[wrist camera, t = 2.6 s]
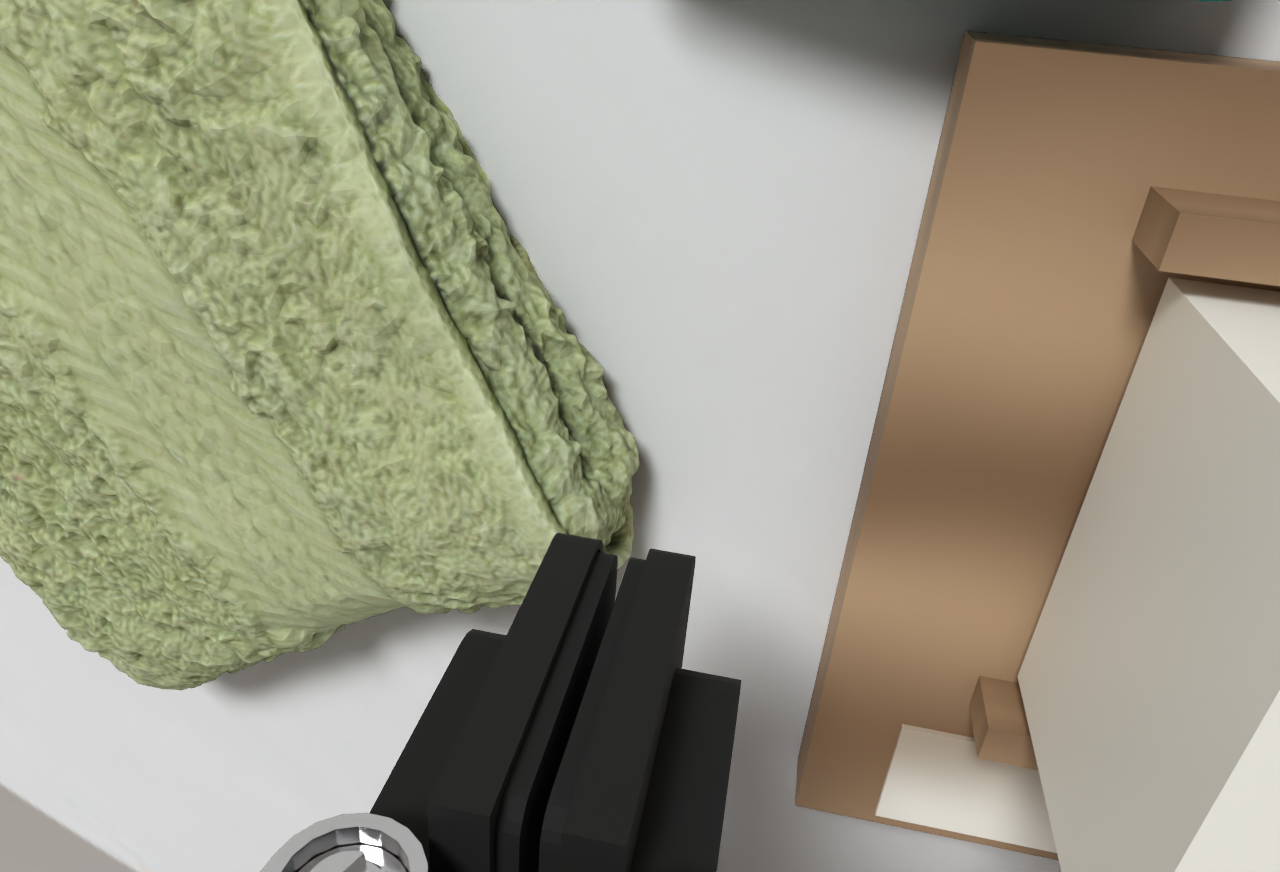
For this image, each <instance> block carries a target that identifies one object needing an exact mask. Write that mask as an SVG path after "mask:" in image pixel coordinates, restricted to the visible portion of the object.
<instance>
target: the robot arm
mask: <svg viewBox="0 0 1280 872" xmlns="http://www.w3.org/2000/svg"><path fill="white" fill-rule="evenodd" d="M617 567H618V557H617V555H613V554H608V553H603V542H602V540H598V539H592V538H587V537H581V536H575V535H569V534H564V533H556V534H555V536H554V537H553V539H552V541H551V543H550V545H549V548H548V550H547V552H546V554H545V556H544V558H543V560H542V562H541V564H540V566H539V569H538V571H537V573H536V575H535V577H534V579H533V581H532V583H531V585H530V587H529V590H528V592H527V594H526V596H525V598H524V600H523V602H522V604H521V606H520V608H519V611H518V613H517V615H516V617H515V619H514V621H513V623H512V625H511V627H510V629H509V632H508V634H507V636H506V635H501V634H495V633H490V632H485V631H480V630H474V629H472V630H471V631H469V632H468V633H467V634H466V636H465V637H464V639H463V640H462V642H461V644H460V645H459V647H458V649H457V651H456V653H455V655H454V657H453V658H452V660H451V662H450V664H449V666H448V668H447V670H446V672H445V673H444V675H443V677H442V679H441V681H440V683H439V685H438V686H437V688H436V690H435V692H434V694H433V696H432V698H431V700H430V701H429V703H428V705H427V707H426V709H425V711H424V713H423V714H422V716H421V718H420V720H419V722H418V724H417V726H416V728H415V729H414V731H413V733H412V735H411V737H410V739H409V741H408V742H407V744H406V746H405V748H404V750H403V752H402V754H401V755H400V757H399V759H398V761H397V763H396V765H395V767H394V769H393V770H392V772H391V774H390V776H389V778H388V780H387V782H386V783H385V785H384V787H383V789H382V791H381V793H380V795H379V797H378V798H377V800H376V802H375V804H374V806H373V808H372V810H371V811H370V813H355V814H341V815H338V816H335V817H332V818H328V819H325V820H322V821H319V822H316V823H314V824H313V825H311V826H309V827H308V828H306V829H304V830H303V831H301V832H299V833H297V834H296V835H294V836H293V837H292V838H291V839H290V840H289V841H288V842H287V843H285V844H284V845H283V846H282V847H281V848H280V849H279V850H278V851H277V852H276V853H275V854H274V855H273V856H272V858H271V859H270V860H269V861H268V863H267V864H266V865H265V866H264V868H263V869H262V870H261V871H260V872H716V871H717V864H718V856H719V848H720V841H721V833H722V826H723V818H724V810H725V803H726V795H727V787H728V780H729V772H730V764H731V757H732V749H733V741H734V734H735V726H736V718H737V711H738V703H739V695H740V687H741V680H737V679H732V678H727V677H722V676H716V675H711V674H706V673H701V672H695V671H690V670H685V669H681V668H682V661H683V653H684V645H685V638H686V630H687V622H688V615H689V607H690V599H691V592H692V584H693V576H694V568H695V556H690V555H684V554H679V553H673V552H667V551H661V550H656V549H650V550H649V553H648V556H647V559H646V560H642V559H636V558H630V560H629V562H628V565H627V568H626V571H625V574H624V577H623V580H622V583H621V586H620V589H619V592H618V595H617V598H616V601H615V592H616V579H617Z"/></svg>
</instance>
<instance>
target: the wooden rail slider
mask: <svg viewBox="0 0 1280 872" xmlns="http://www.w3.org/2000/svg"><path fill="white" fill-rule="evenodd" d="M1168 278H1176V279H1184V280H1192V281H1200V282H1207V283H1215V284H1223V285H1231V286H1239V287H1246V288H1254V289H1262V290H1270V291H1278V292H1280V62H1278V61H1267V60H1257V59H1247V58H1237V57H1227V56H1216V55H1206V54H1196V53H1186V52H1176V51H1165V50H1155V49H1145V48H1135V47H1125V46H1114V45H1104V44H1094V43H1084V42H1074V41H1063V40H1053V39H1043V38H1033V37H1023V36H1012V35H1002V34H992V33H982V32H972V31H965V32H964V37H963V41H962V45H961V50H960V54H959V59H958V63H957V67H956V72H955V76H954V80H953V85H952V89H951V93H950V98H949V102H948V106H947V111H946V115H945V120H944V124H943V128H942V133H941V137H940V141H939V146H938V150H937V154H936V159H935V163H934V167H933V172H932V176H931V181H930V185H929V189H928V194H927V198H926V202H925V207H924V211H923V215H922V220H921V224H920V228H919V233H918V237H917V242H916V246H915V250H914V255H913V259H912V263H911V268H910V272H909V276H908V281H907V285H906V289H905V294H904V298H903V302H902V307H901V311H900V316H899V320H898V324H897V329H896V333H895V337H894V342H893V346H892V350H891V355H890V359H889V363H888V368H887V372H886V377H885V381H884V385H883V390H882V394H881V398H880V403H879V407H878V411H877V416H876V420H875V424H874V429H873V433H872V438H871V442H870V446H869V451H868V455H867V459H866V464H865V468H864V472H863V477H862V481H861V485H860V490H859V494H858V499H857V503H856V507H855V512H854V516H853V520H852V525H851V529H850V533H849V538H848V542H847V546H846V551H845V555H844V560H843V564H842V568H841V573H840V577H839V581H838V586H837V590H836V594H835V599H834V603H833V607H832V612H831V616H830V621H829V625H828V629H827V634H826V638H825V642H824V647H823V651H822V655H821V660H820V664H819V668H818V673H817V677H816V681H815V686H814V690H813V695H812V699H811V703H810V708H809V712H808V716H807V721H806V725H805V729H804V734H803V738H802V742H801V747H800V751H799V756H798V766H797V784H796V801H795V805H796V806H801V807H806V808H810V809H815V810H820V811H825V812H830V813H834V814H839V815H844V816H849V817H854V818H858V819H863V820H868V821H873V822H878V823H882V824H887V825H892V826H897V827H902V828H906V829H911V830H916V831H921V832H926V833H930V834H935V835H940V836H945V837H950V838H954V839H959V840H964V841H969V842H974V843H978V844H983V845H988V846H993V847H998V848H1002V849H1007V850H1012V851H1017V852H1022V853H1026V854H1031V855H1036V856H1041V857H1046V858H1050V859H1055V860H1059V859H1058V855H1057V850H1056V846H1055V841H1054V837H1053V833H1052V828H1051V824H1050V819H1049V815H1048V810H1047V806H1046V801H1045V797H1044V793H1043V788H1042V784H1041V779H1040V775H1039V770H1038V766H1037V761H1036V757H1035V752H1034V748H1033V744H1032V739H1031V735H1030V730H1029V726H1028V721H1027V717H1026V712H1025V708H1024V703H1023V699H1022V695H1021V690H1020V686H1019V681H1018V677H1017V676H1018V674H1019V671H1020V668H1021V666H1022V663H1023V661H1024V658H1025V655H1026V653H1027V650H1028V647H1029V645H1030V642H1031V639H1032V637H1033V634H1034V631H1035V629H1036V626H1037V624H1038V621H1039V618H1040V616H1041V613H1042V610H1043V608H1044V605H1045V602H1046V600H1047V597H1048V595H1049V592H1050V589H1051V587H1052V584H1053V581H1054V579H1055V576H1056V573H1057V571H1058V568H1059V565H1060V563H1061V560H1062V558H1063V555H1064V552H1065V550H1066V547H1067V544H1068V542H1069V539H1070V536H1071V534H1072V531H1073V529H1074V526H1075V523H1076V521H1077V518H1078V515H1079V513H1080V510H1081V507H1082V505H1083V502H1084V499H1085V497H1086V494H1087V492H1088V489H1089V486H1090V484H1091V481H1092V478H1093V476H1094V473H1095V470H1096V468H1097V465H1098V463H1099V460H1100V457H1101V455H1102V452H1103V449H1104V447H1105V444H1106V441H1107V439H1108V436H1109V433H1110V431H1111V428H1112V426H1113V423H1114V420H1115V418H1116V415H1117V412H1118V410H1119V407H1120V404H1121V402H1122V399H1123V397H1124V394H1125V391H1126V389H1127V386H1128V383H1129V381H1130V378H1131V375H1132V373H1133V370H1134V367H1135V365H1136V362H1137V360H1138V357H1139V354H1140V352H1141V349H1142V346H1143V344H1144V341H1145V338H1146V336H1147V333H1148V331H1149V328H1150V325H1151V323H1152V320H1153V317H1154V315H1155V312H1156V309H1157V307H1158V304H1159V301H1160V299H1161V296H1162V294H1163V291H1164V288H1165V286H1166V283H1167V280H1168Z"/></svg>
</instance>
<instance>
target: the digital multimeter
mask: <svg viewBox="0 0 1280 872" xmlns="http://www.w3.org/2000/svg"><path fill="white" fill-rule="evenodd" d="M1197 1H1204V2H1206V1H1230V0H1197Z"/></svg>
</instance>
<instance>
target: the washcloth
mask: <svg viewBox="0 0 1280 872" xmlns="http://www.w3.org/2000/svg"><path fill="white" fill-rule="evenodd" d="M421 64H422V63H421V59H420V58H419V57H418V56H417V55H416V54H414V53H413V52H412V50H411V49H410V47H409V46H408V44H407V43H406V42H405V41H404V40H403V39H402V38H400V37H398V36H396V35H395V21H394V19H393V16H392V14H391V13H390V11H389V10H388V9H387V7H386V6H385V4H384V2H383V0H0V556H1V557H2V559H3V560H4V561H6V562H7V563H9V564H10V566H11V568H12V570H13V572H14V574H15V576H16V577H17V578H18V579H19V580H21V581H22V582H23V583H24V584H26V585H28V586H30V588H31V589H32V590H33V591H34V592H35V593H36V594H37V595H39V596H40V597H41V598H42V599H43V603H44V604H45V606H46V607H47V608H48V609H49V611H50V612H51V614H52V615H53V616H54V618H55V619H56V621H57V622H58V623H59V625H60V626H61V627H62V628H64V629H66V630H68V632H67V635H68V637H69V638H70V639H71V640H74V641H77V642H79V643H80V644H81V645H82V647H83V648H84V649H85V650H87V651H90V652H98V653H99V655H100V657H103V658H106V659H108V660H109V661H110V662H111V663H112V664H113V665H114V666H115V667H116V668H117V669H118V670H119V671H122V672H124V673H126V674H127V675H128V676H129V677H130V678H132V679H134V680H135V681H136V682H137V683H138V684H142V685H147V686H152V687H156V688H161V689H175V690H184V689H187V688H194V687H197V686H200V685H202V684H203V683H206V682H210V681H213V680H215V679H216V678H217V677H218V676H219V675H221V674H222V673H225V672H228V673H235V672H237V671H239V670H240V669H244V668H247V667H249V666H251V665H254V664H256V663H258V662H260V661H262V660H264V661H265V662H271V661H272V660H273V659H274V658H275V657H276V656H278V655H281V654H284V653H285V652H292V651H295V650H297V651H299V652H304V651H307V650H311V649H314V648H319V647H321V646H322V644H323V643H325V642H326V641H327V640H328V639H329V638H330V637H331V636H332V635H333V634H334V633H335V632H337V631H338V630H341V629H342V628H345V624H349V623H356V622H358V621H361V620H364V619H366V618H369V617H371V616H376V615H379V614H383V613H386V612H390V611H393V610H396V609H398V608H400V607H408V608H411V609H413V610H414V611H415V612H417V613H423V614H427V613H447V612H449V611H450V610H452V609H457V610H458V611H460V612H462V613H474V612H477V611H478V610H479V609H480V608H481V607H482V606H487V607H489V608H498V607H500V606H504V605H521V604H522V602H523V600H524V598H525V596H526V594H527V592H528V590H529V587H530V585H531V583H532V581H533V579H534V577H535V575H536V573H537V571H538V569H539V566H540V564H541V562H542V560H543V558H544V556H545V554H546V552H547V550H548V548H549V545H550V543H551V541H552V539H553V537H554V536H555V534H556V533H564V534H569V535H575V536H581V537H587V538H592V539H598V540H602V542H603V553H608V554H613V555H617V557H618V567H617V569H619V568H620V567H622V566H623V565H624V564H625V563H626V561H627V560H628V558H629V557H630V555H631V553H632V543H633V539H634V527H633V509H632V506H631V503H630V497H631V495H632V477H633V476H634V475H635V473H636V472H637V470H638V467H639V465H640V464H639V454H638V448H637V445H636V441H635V438H634V436H633V434H632V433H631V432H628V431H627V430H626V429H625V427H624V426H623V419H622V417H621V415H620V414H619V412H618V411H617V410H616V407H615V406H614V404H613V403H612V401H611V400H610V398H609V396H608V395H607V390H606V389H605V387H604V383H603V378H602V377H603V375H604V373H605V372H604V370H603V368H602V367H601V366H600V365H599V364H598V363H597V361H596V360H595V359H594V358H593V357H592V355H591V354H590V353H589V352H588V351H587V350H586V348H585V347H584V346H583V345H581V344H580V343H578V340H577V338H576V337H575V335H572V334H568V333H567V331H566V328H565V317H564V314H563V312H562V310H561V309H559V308H557V307H555V306H554V304H553V303H552V301H551V299H550V296H549V294H548V292H547V290H546V289H545V288H544V286H543V284H542V282H541V281H540V279H539V278H538V276H537V274H536V272H535V270H534V267H533V265H532V263H531V261H530V259H529V257H528V254H527V252H526V251H525V249H524V248H523V247H522V246H521V245H520V244H519V243H518V242H517V240H516V239H515V238H514V237H513V236H512V235H510V234H509V232H508V229H507V227H506V225H505V222H504V221H503V219H502V218H501V216H500V215H499V214H498V212H497V211H496V209H495V207H494V206H493V203H492V199H491V184H490V180H489V178H488V177H487V175H486V174H485V172H484V171H483V170H482V168H481V167H480V165H479V163H478V162H477V160H476V159H475V157H474V156H473V154H472V153H471V151H470V149H469V148H468V146H467V144H466V142H465V140H464V138H463V135H462V133H461V131H460V129H459V126H458V124H457V122H456V121H455V120H454V117H453V115H452V113H451V111H450V109H449V108H448V107H447V106H446V105H445V104H444V103H443V102H442V101H441V100H440V99H439V98H438V97H437V96H436V94H435V93H434V91H433V89H432V87H431V85H430V84H429V83H428V82H427V81H426V80H425V77H424V74H423V72H422V70H421V69H420V68H421Z"/></svg>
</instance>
